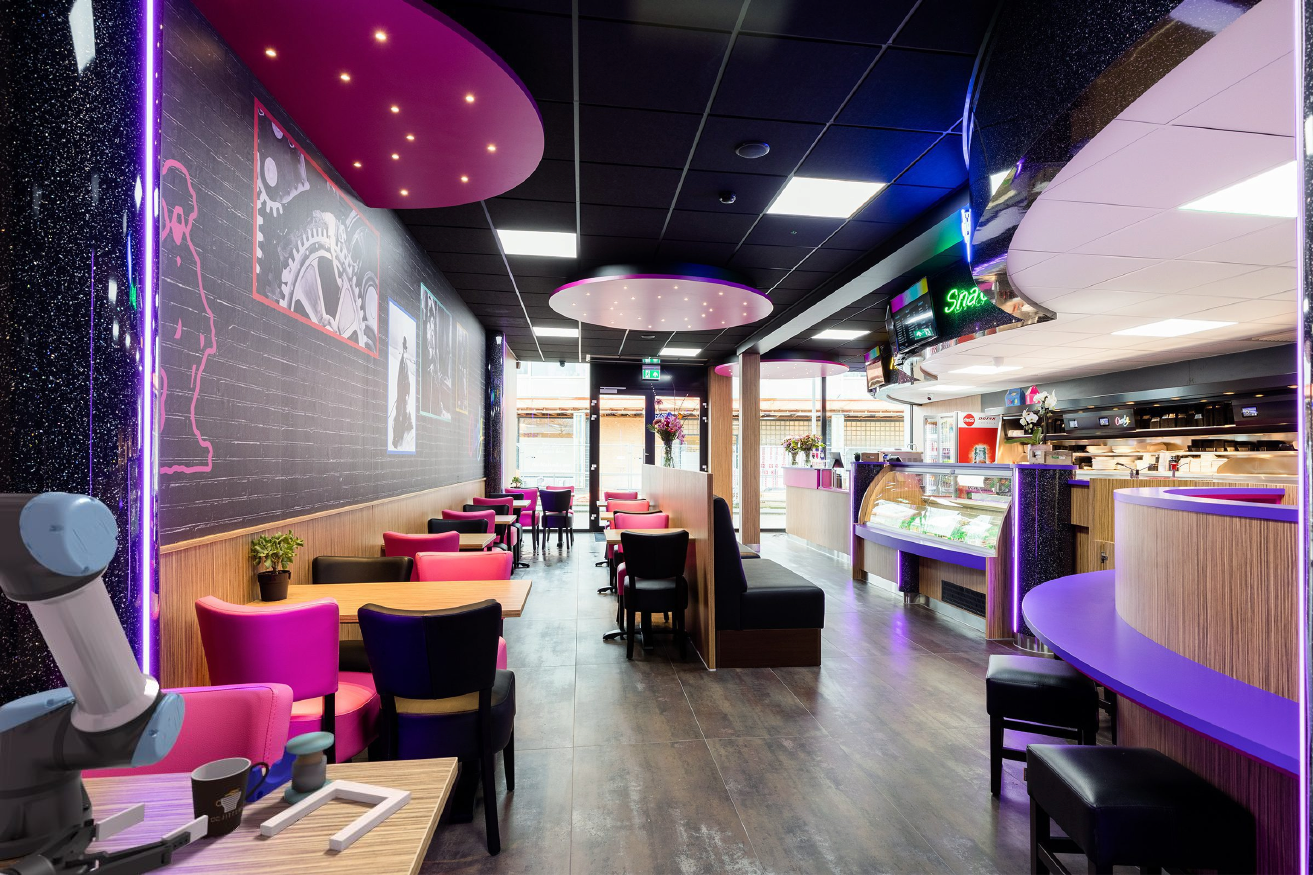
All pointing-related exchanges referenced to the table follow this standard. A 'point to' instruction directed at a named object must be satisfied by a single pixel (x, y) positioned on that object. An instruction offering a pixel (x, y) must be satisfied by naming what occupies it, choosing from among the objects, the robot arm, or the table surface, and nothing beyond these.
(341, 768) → the table surface
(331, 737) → the bobbin
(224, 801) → the coffee mug
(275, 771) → the cable clip
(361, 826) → the u-shaped bracket
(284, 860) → the table surface
